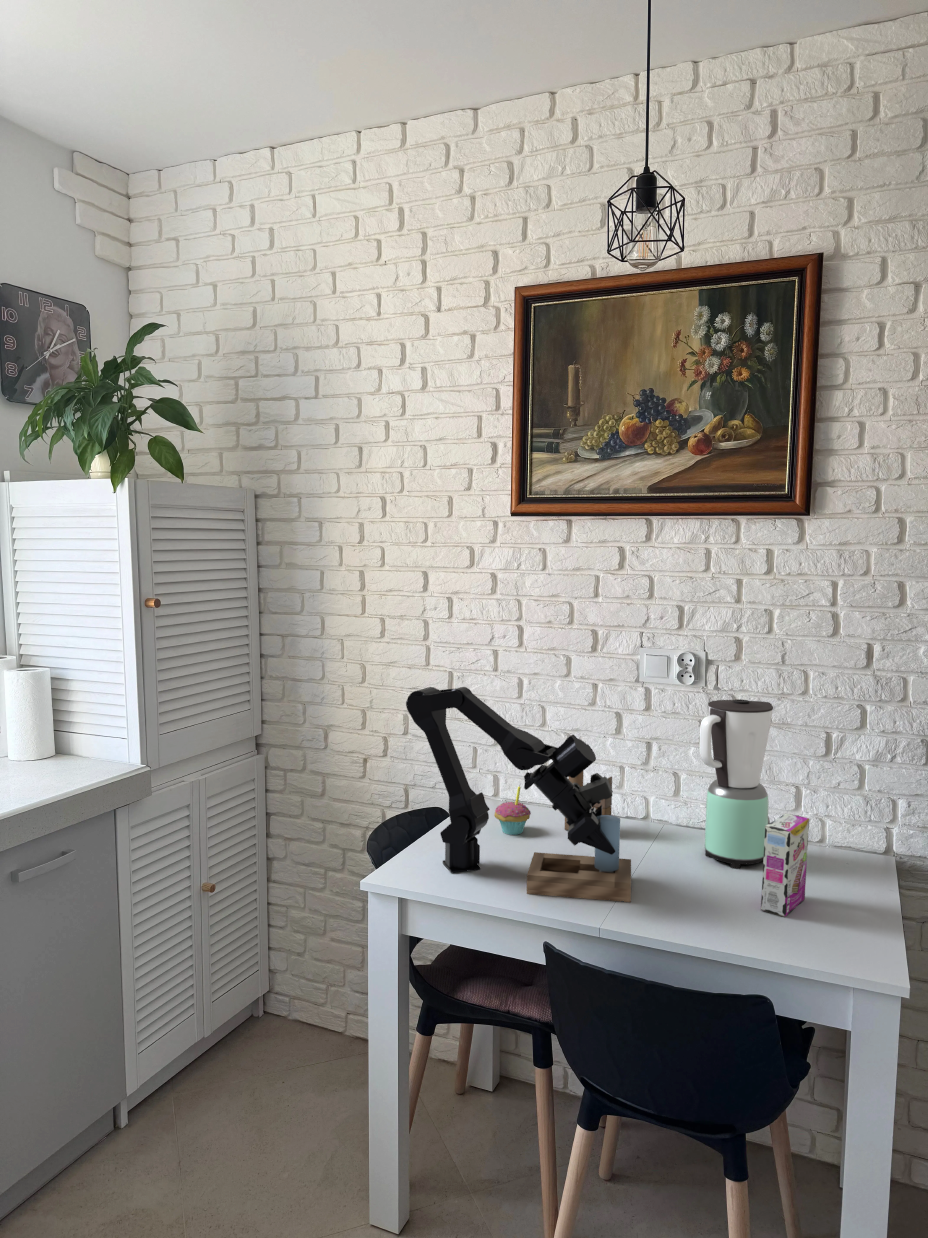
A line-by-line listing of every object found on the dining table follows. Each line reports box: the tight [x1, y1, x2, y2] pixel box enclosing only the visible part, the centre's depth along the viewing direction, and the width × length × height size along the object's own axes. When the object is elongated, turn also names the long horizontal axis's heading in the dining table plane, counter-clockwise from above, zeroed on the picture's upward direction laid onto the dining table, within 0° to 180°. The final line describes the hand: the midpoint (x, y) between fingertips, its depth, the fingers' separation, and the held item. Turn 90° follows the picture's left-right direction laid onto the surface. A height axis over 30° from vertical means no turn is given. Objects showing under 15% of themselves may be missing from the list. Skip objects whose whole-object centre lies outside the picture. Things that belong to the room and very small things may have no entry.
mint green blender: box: [698, 698, 774, 870], centre depth 189 cm, size 19×13×35 cm
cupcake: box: [494, 784, 532, 836], centre depth 207 cm, size 9×8×12 cm
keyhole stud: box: [594, 814, 621, 873], centre depth 174 cm, size 6×6×13 cm
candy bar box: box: [760, 813, 810, 918], centre depth 165 cm, size 11×5×16 cm, turn 141°
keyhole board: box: [526, 851, 632, 903], centre depth 175 cm, size 20×13×4 cm, turn 79°
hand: (614, 848), depth 173 cm, fingers closed on keyhole stud, 5 cm apart
